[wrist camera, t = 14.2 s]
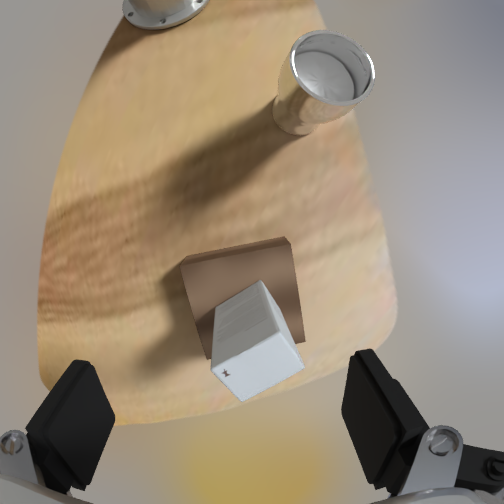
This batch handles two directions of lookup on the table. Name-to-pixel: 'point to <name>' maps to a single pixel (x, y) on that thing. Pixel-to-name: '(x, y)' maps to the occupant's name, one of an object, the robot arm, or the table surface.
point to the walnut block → (242, 283)
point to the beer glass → (321, 81)
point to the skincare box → (252, 343)
